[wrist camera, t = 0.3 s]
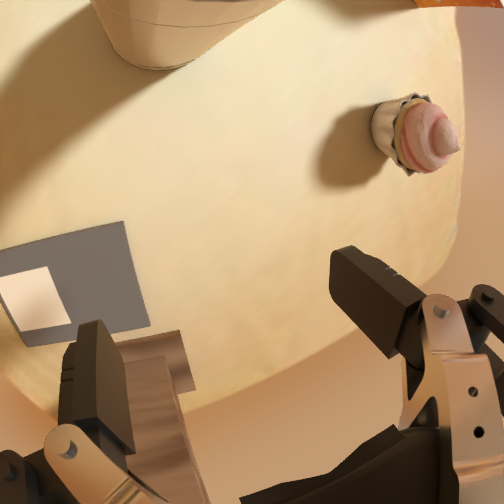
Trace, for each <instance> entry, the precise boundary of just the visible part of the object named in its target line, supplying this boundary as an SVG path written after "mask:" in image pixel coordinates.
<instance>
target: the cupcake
mask: <svg viewBox="0 0 504 504" xmlns="http://www.w3.org/2000/svg"><path fill="white" fill-rule="evenodd" d="M371 134H372V138H373V141H374V143H375V144H376V146H377V147H378V148H379V149H380V151H382V152H383V153H385V154H386V155H388V156H389V157H391V158H392V159H393V161H394V162H395V163H396V165H397V166H399V167H402V169H403V170H404V171H405V173H406V174H407V175H408V176H411V175H412V174H413V173H415V172H417V173H418V174H420V175H423V173H424V174H427V173H432V172H434V171H436V170H438V169H439V168H441V167H443V166H444V165H445V164H446V163H447V162H448V161H449V160H450V158H451V157H452V155H453V153H455V152H457V151H459V150H460V145H459V140H458V132H457V130H456V128H455V126H454V125H453V124H452V122H451V121H450V120H449V119H448V117H447V116H446V114H445V113H444V111H443V110H442V109H441V108H440V107H439V106H437V105H435V104H432V102H431V99H430V97H429V95H424V96H420V95H419V94H418V93H415V92H414V93H412V94H410V95H408V96H406V97H404V98H400V99H395V100H390V101H386V102H383V103H382V104H381V105H379V106H378V107H377V109H376V110H375V112H374V114H373V117H372V121H371Z"/></svg>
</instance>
